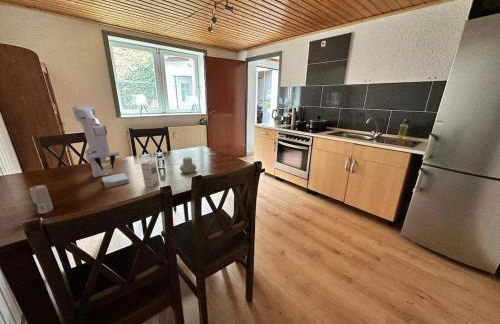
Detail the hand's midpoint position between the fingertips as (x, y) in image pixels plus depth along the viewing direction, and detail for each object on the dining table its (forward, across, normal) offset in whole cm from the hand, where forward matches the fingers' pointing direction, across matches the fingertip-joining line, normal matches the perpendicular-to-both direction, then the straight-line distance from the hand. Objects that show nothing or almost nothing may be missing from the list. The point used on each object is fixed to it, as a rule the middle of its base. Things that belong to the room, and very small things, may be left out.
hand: (107, 169), depth 120 cm
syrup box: (+9, +19, -18) cm, 28 cm away
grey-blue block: (+9, +3, 0) cm, 10 cm away
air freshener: (+9, +45, -11) cm, 47 cm away
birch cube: (+2, 0, 0) cm, 2 cm away
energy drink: (+9, -27, -18) cm, 34 cm away
